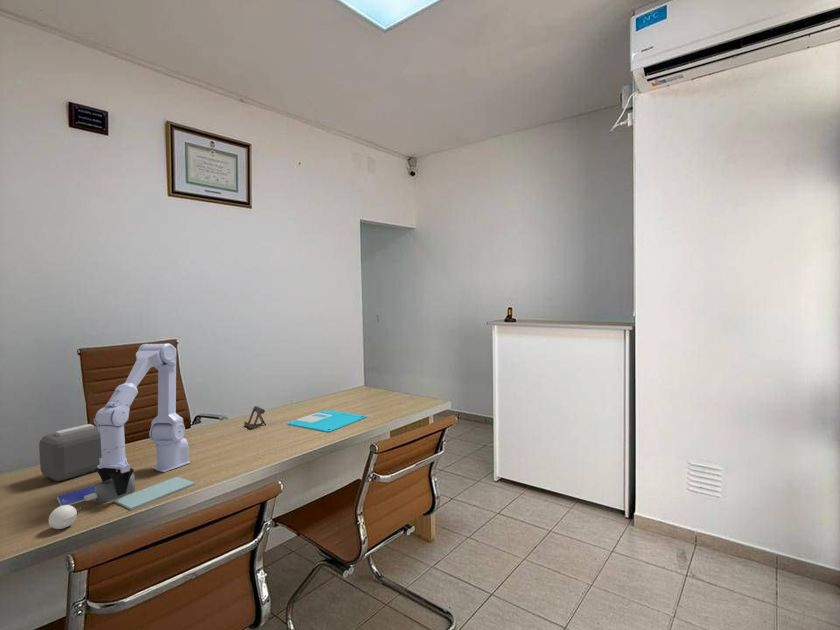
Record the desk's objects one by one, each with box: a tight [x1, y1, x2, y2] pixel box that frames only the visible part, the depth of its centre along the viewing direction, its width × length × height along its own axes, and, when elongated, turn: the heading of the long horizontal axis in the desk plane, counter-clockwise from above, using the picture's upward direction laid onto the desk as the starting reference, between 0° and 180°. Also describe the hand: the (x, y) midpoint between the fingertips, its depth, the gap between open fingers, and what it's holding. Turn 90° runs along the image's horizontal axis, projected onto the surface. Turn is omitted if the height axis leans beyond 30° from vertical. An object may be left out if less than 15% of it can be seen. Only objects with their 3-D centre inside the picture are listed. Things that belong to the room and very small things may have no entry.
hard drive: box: [56, 485, 95, 506], centre depth 124 cm, size 2×8×12 cm
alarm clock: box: [38, 423, 102, 482], centre depth 142 cm, size 16×11×16 cm
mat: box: [113, 476, 196, 511], centre depth 124 cm, size 18×10×1 cm, turn 149°
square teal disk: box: [286, 409, 368, 433], centre depth 196 cm, size 26×28×1 cm
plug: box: [84, 472, 136, 505], centre depth 122 cm, size 12×4×5 cm, turn 149°
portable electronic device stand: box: [243, 405, 267, 430], centre depth 191 cm, size 9×8×8 cm
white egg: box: [48, 505, 80, 530], centre depth 107 cm, size 8×6×6 cm
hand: (115, 491), depth 123 cm, fingers open, 7 cm apart
